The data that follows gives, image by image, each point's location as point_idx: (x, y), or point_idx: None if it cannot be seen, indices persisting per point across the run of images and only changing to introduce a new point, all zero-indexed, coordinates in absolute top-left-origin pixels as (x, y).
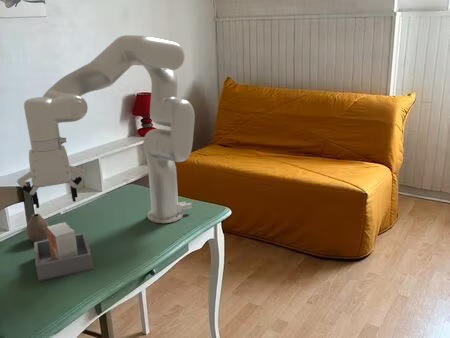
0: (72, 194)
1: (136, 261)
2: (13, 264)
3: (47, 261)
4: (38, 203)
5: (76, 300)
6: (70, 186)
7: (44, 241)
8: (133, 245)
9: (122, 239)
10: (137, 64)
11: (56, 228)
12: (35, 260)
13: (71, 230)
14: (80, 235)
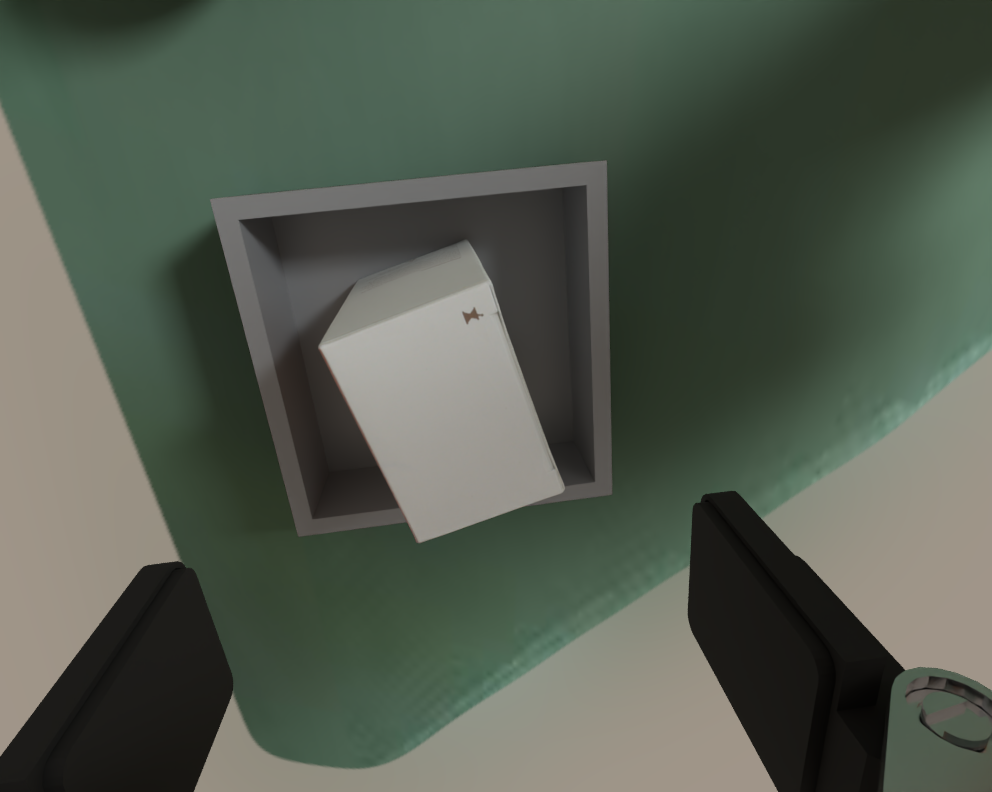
0: (746, 719)
1: (796, 429)
2: (113, 243)
3: (336, 304)
4: (210, 745)
5: (498, 646)
6: (817, 698)
7: (294, 212)
8: (842, 244)
9: (810, 128)
10: None
11: (416, 412)
12: (284, 479)
13: (542, 478)
14: (568, 186)
